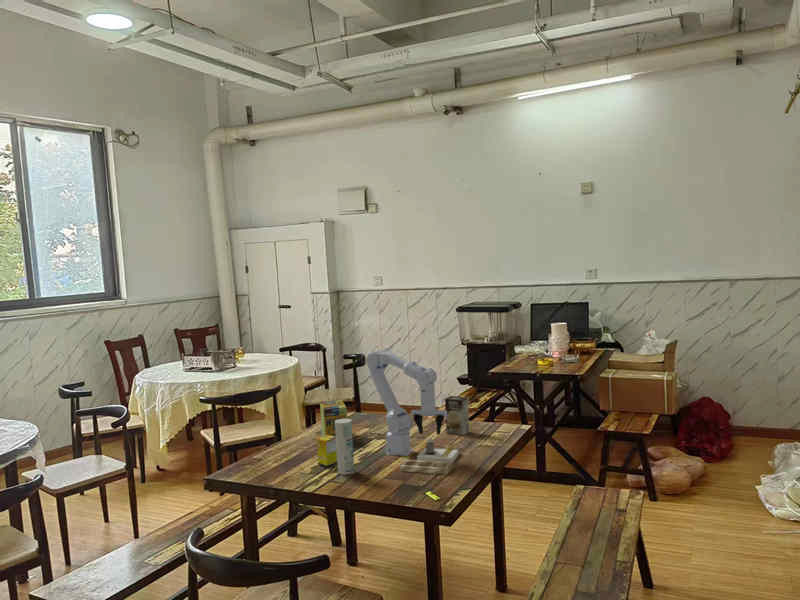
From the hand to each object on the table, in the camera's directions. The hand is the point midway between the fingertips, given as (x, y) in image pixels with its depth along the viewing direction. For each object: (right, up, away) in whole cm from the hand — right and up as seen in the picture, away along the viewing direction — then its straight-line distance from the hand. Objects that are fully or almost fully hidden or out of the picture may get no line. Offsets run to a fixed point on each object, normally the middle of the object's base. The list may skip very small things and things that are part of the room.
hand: (430, 433), depth 245 cm
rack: (-2, -11, -12) cm, 17 cm away
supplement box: (-41, -13, +2) cm, 43 cm away
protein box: (-42, -10, +38) cm, 57 cm away
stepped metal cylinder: (0, -10, +1) cm, 10 cm away
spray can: (-33, -13, -9) cm, 36 cm away
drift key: (+7, -10, +1) cm, 12 cm away
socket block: (+3, -10, 0) cm, 11 cm away
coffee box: (+14, -7, +35) cm, 39 cm away
